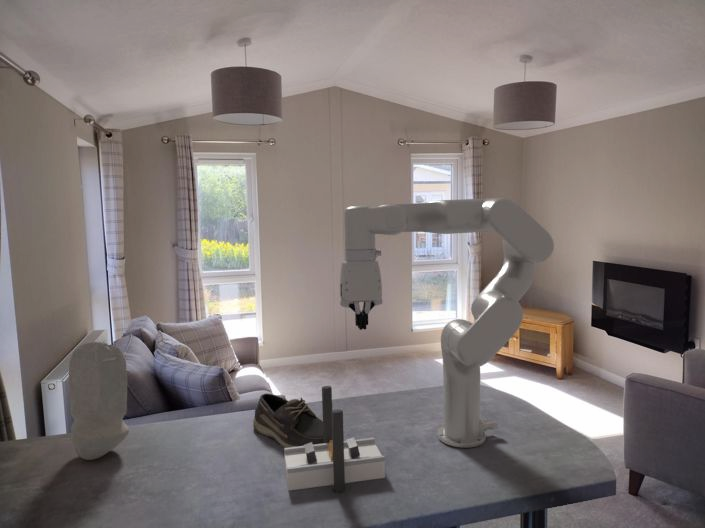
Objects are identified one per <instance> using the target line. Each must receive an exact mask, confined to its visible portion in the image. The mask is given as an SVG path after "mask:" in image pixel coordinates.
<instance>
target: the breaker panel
mask: <svg viewBox="0 0 705 528" xmlns="http://www.w3.org/2000/svg"><path fill="white" fill-rule="evenodd" d="M355 441H356V443H357V445H358V449H359V453H360V456H357V457H354V458H352V457H351V455H350V453H349V450H348V447H347V443H346V440H344V471H345V484H348V483H355V482H356V483H358V482H363V481H370V480H371V481H372V480H380V479H385V478H386V470H385V469H386V468H385V466H386V463H385V462H386V461H385V456H384V455H382V454H381V452H380V450H379V448H378V446H377V445H376V439H375V437H366V438H359V439H355ZM313 447H314V451H315V455H316V459H317V461H315V462H312V463H308V460H307V456H306V452H305V448H304V446H298V447H289V448H284V447H283V450H284V451H283V453H284V469H285V477H286V484H287V490H288V491H296V490H303V489H311V488H320V487H327V486H334V471H333V459H331V457H330V454H329V451H328V448H329V443H323V444H315V445H313Z"/></svg>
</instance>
